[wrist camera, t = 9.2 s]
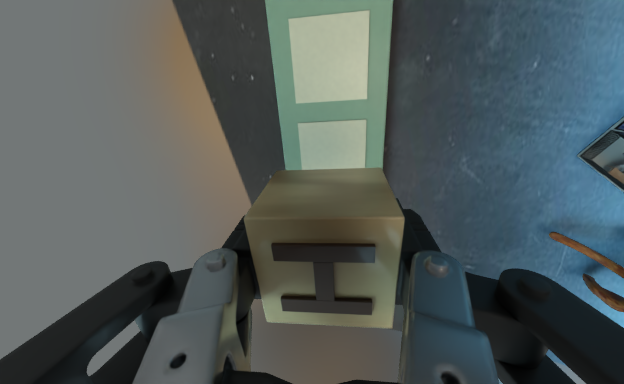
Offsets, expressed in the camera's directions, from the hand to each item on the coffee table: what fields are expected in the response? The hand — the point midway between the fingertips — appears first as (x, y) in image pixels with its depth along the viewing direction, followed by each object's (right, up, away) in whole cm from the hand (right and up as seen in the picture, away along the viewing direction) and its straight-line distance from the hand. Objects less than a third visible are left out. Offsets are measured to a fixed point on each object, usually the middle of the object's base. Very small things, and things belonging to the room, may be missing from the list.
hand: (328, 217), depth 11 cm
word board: (+1, +8, +10) cm, 13 cm away
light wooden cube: (0, 0, 0) cm, 0 cm away
